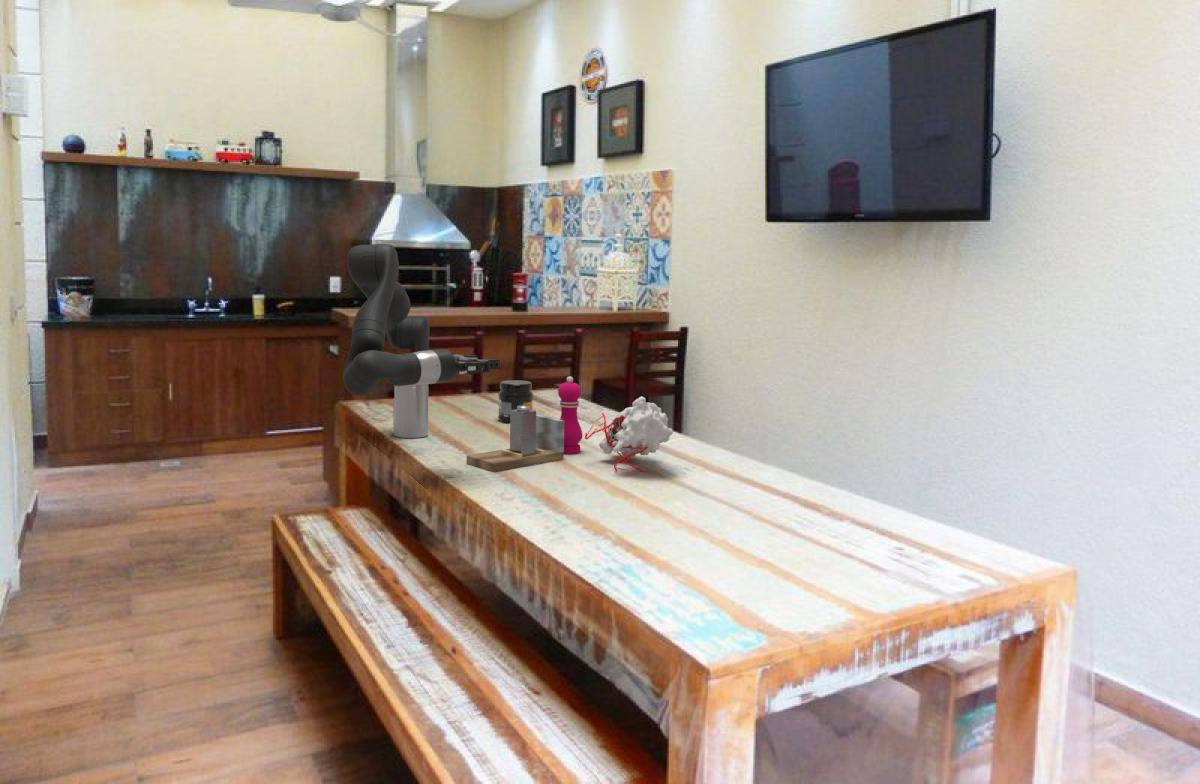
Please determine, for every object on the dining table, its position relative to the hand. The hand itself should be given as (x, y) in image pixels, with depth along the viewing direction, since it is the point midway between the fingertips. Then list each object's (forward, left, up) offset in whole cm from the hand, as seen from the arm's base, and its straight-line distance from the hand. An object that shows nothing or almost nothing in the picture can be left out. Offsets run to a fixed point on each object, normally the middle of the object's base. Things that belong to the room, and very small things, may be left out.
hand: (487, 361), depth 221 cm
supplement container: (-44, +44, -26) cm, 68 cm away
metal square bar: (0, +11, -24) cm, 26 cm away
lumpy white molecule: (+20, +29, -26) cm, 44 cm away
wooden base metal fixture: (-1, +10, -26) cm, 28 cm away
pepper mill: (-2, +28, -26) cm, 38 cm away
